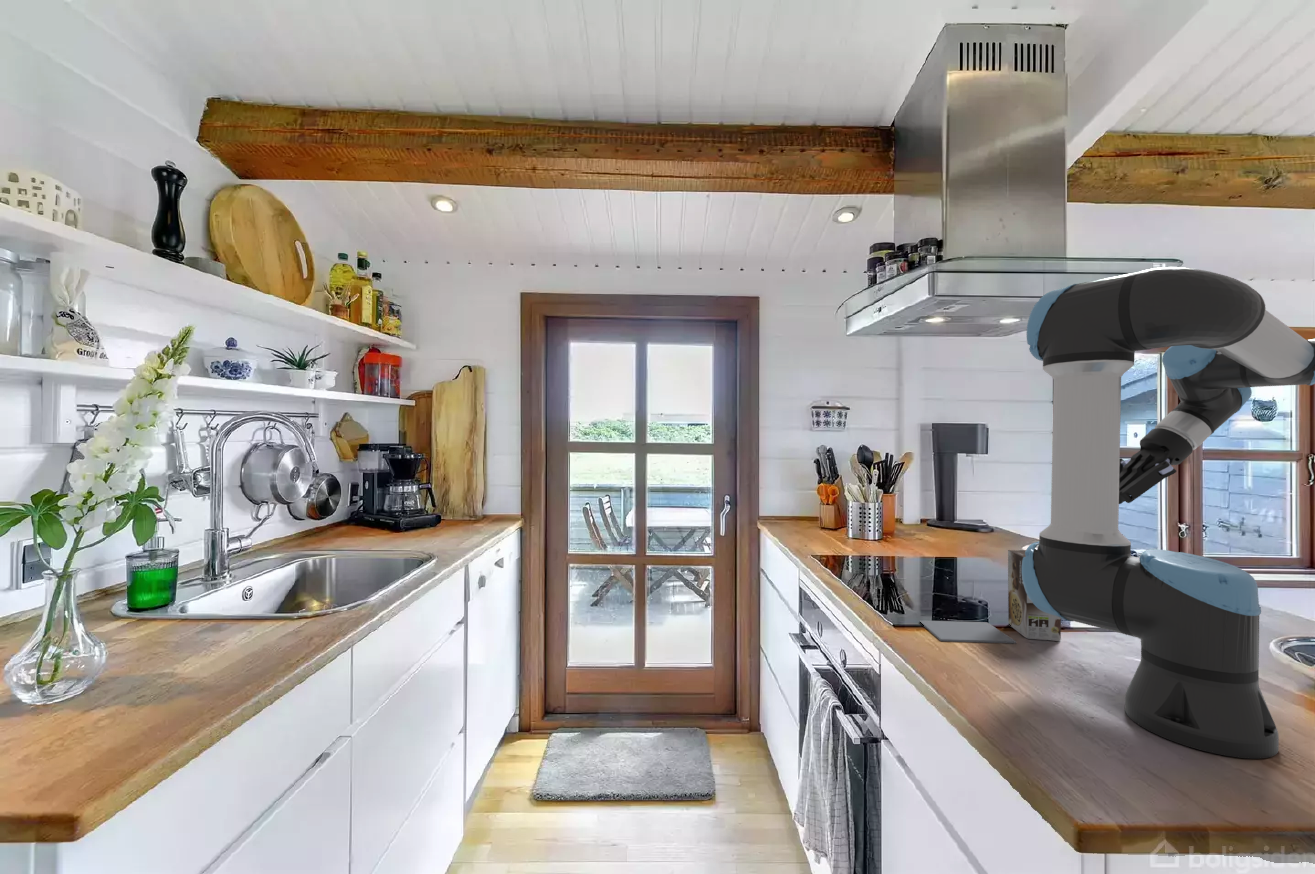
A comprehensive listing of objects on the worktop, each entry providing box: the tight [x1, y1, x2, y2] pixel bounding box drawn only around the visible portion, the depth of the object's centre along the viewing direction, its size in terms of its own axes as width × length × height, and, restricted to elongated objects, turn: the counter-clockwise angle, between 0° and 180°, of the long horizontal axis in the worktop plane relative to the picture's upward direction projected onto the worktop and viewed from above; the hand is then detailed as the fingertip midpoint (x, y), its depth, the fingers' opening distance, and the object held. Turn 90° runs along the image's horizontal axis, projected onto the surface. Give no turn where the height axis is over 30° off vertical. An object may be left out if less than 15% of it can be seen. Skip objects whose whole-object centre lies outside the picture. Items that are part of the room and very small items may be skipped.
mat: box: [918, 620, 1017, 644], centre depth 114 cm, size 14×11×1 cm
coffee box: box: [1007, 549, 1062, 642], centre depth 114 cm, size 9×6×16 cm
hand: (1084, 521), depth 113 cm, fingers closed
